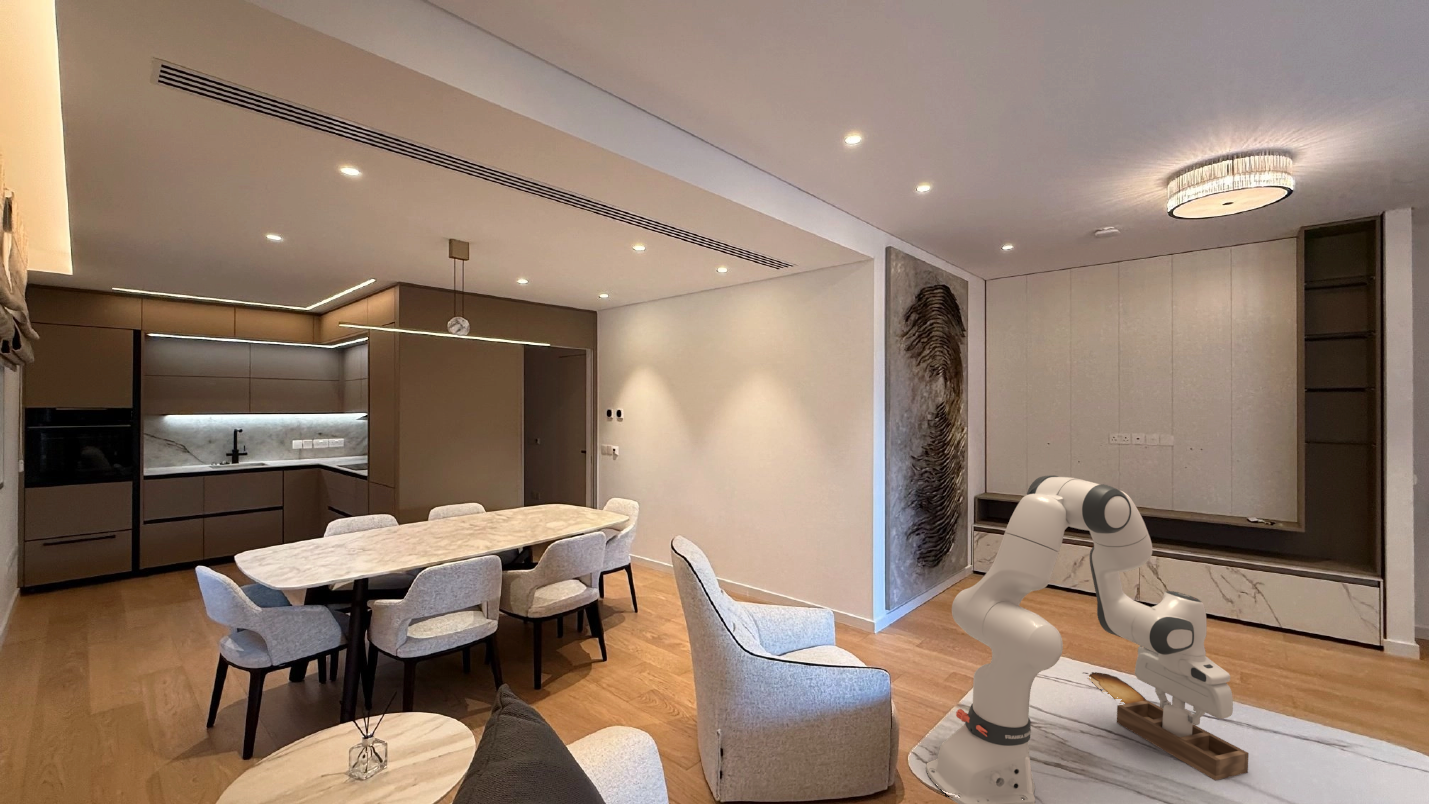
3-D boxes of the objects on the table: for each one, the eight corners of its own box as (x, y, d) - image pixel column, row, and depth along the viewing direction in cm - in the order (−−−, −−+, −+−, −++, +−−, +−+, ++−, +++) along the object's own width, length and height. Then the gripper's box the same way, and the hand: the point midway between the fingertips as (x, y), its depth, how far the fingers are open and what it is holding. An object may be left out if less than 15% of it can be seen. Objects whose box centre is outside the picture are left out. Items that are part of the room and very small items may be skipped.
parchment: (1080, 672, 176) (1080, 669, 176) (1114, 674, 175) (1114, 671, 175) (1128, 719, 151) (1128, 716, 151) (1168, 722, 150) (1168, 718, 150)
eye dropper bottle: (1169, 733, 142) (1172, 685, 142) (1195, 746, 137) (1198, 697, 137) (1158, 736, 141) (1160, 687, 141) (1183, 749, 136) (1186, 699, 136)
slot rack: (1215, 780, 127) (1216, 760, 127) (1116, 722, 148) (1117, 705, 148) (1247, 772, 130) (1248, 753, 130) (1146, 717, 151) (1146, 700, 151)
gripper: (1129, 642, 148) (1127, 695, 148) (1219, 681, 128) (1217, 742, 129) (1147, 640, 150) (1145, 692, 150) (1238, 678, 130) (1236, 738, 130)
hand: (1179, 715), depth 139 cm, fingers closed on eye dropper bottle, 5 cm apart
